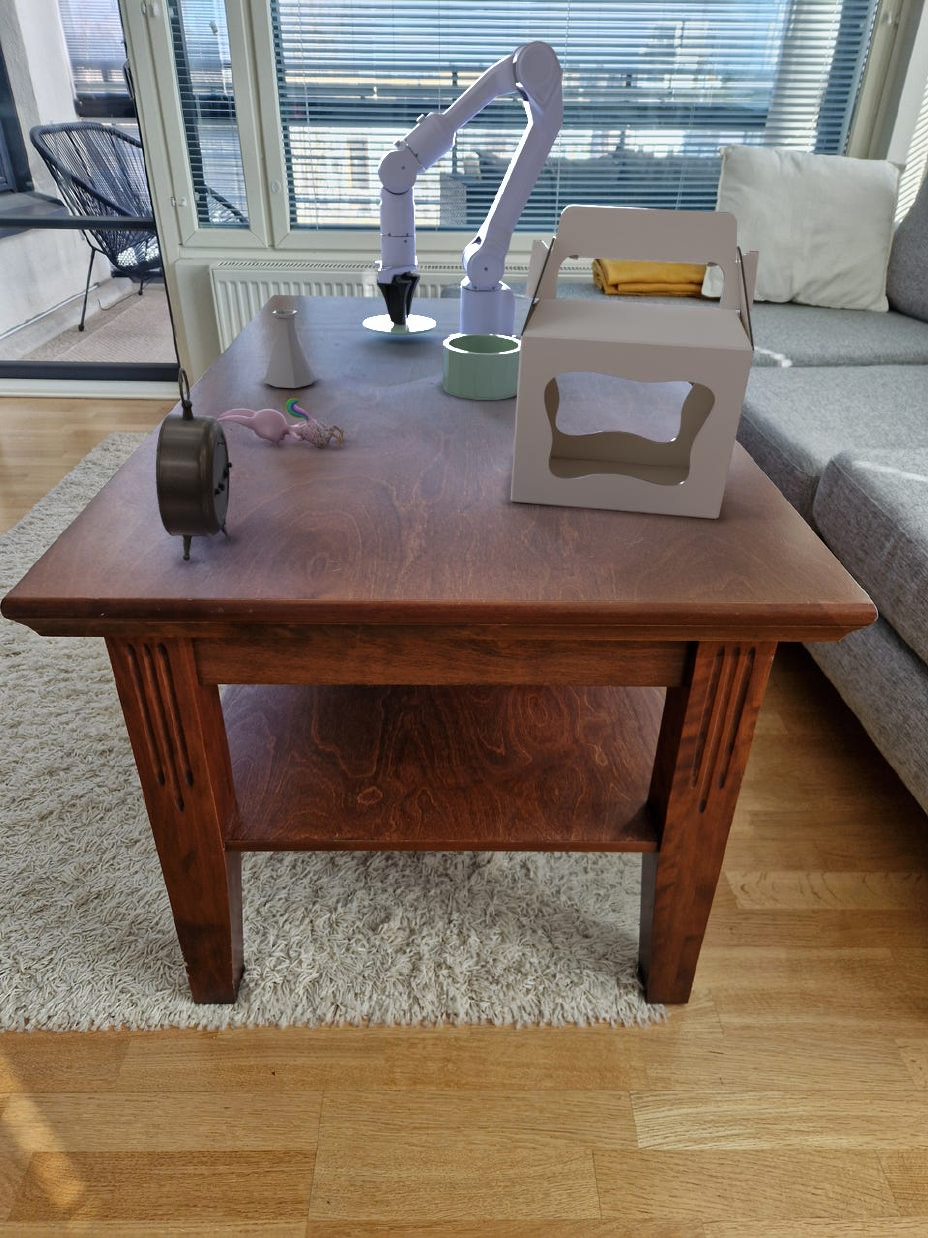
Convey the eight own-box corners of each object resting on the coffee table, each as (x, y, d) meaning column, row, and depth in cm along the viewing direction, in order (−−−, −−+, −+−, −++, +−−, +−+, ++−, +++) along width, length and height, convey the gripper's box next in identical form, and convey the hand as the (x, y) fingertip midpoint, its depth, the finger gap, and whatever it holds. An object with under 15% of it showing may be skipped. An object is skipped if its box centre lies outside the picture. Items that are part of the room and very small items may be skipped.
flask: (324, 379, 123) (320, 309, 118) (296, 392, 118) (291, 319, 112) (284, 372, 126) (278, 303, 120) (255, 384, 120) (247, 313, 115)
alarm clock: (189, 515, 83) (162, 351, 74) (244, 514, 83) (223, 351, 75) (165, 568, 74) (132, 388, 65) (227, 567, 74) (201, 388, 66)
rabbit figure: (343, 445, 104) (224, 423, 103) (349, 400, 101) (226, 376, 100) (336, 464, 99) (210, 440, 98) (342, 416, 96) (211, 391, 94)
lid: (403, 317, 151) (402, 291, 149) (450, 330, 144) (451, 303, 141) (348, 327, 143) (347, 300, 141) (395, 342, 136) (395, 313, 134)
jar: (481, 372, 129) (482, 329, 125) (537, 389, 122) (540, 345, 119) (426, 386, 122) (426, 341, 118) (482, 405, 115) (484, 359, 112)
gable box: (707, 471, 97) (759, 206, 82) (720, 520, 86) (784, 223, 70) (518, 457, 99) (535, 196, 84) (507, 502, 88) (525, 211, 73)
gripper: (389, 227, 142) (391, 309, 149) (358, 238, 130) (362, 327, 138) (428, 229, 141) (429, 312, 148) (401, 241, 129) (402, 331, 136)
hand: (399, 320), depth 143 cm, fingers closed on lid, 2 cm apart
